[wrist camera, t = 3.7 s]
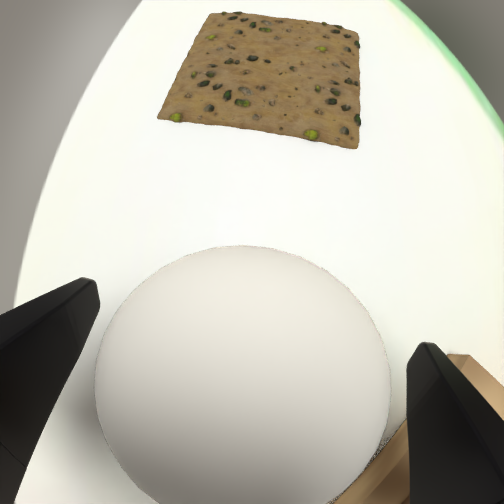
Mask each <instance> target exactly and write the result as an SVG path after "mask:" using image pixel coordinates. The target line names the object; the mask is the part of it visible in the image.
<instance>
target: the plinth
mask: <svg viewBox="0 0 504 504" xmlns="http://www.w3.org/2000/svg"><path fill="white" fill-rule="evenodd" d="M447 357H448V358H449V359H450V360H451V361H452V362H453V363H454V364H455V366H456V367H457V368H458V369H459V370H460V371H461V372H462V373H463V374H464V375H465V377H466V378H467V379H468V380H469V381H470V382H471V383H472V384H473V385H474V387H475V388H476V389H477V390H478V391H479V392H480V393H481V395H482V396H483V397H484V398H485V399H486V400H487V401H488V403H489V404H490V405H491V406H492V407H493V408H494V410H495V411H496V412H497V413H498V414H499V415H500V417H501V418H502V419H503V420H504V387H503V386H502V385H501V384H500V383H499V382H498V381H497V380H496V379H495V378H494V377H493V376H492V375H491V374H490V373H489V372H488V371H486V370H485V369H484V368H483V367H482V366H481V365H480V364H479V363H478V362H477V361H476V360H475V359H473V358H472V357H471V356H470V355H460V354H448V355H447ZM333 504H410V479H409V448H408V432H407V418H406V420H405V421H404V422H403V424H402V425H401V426H400V428H399V429H398V430H397V432H396V433H395V434H394V436H393V437H392V438H391V440H390V441H389V442H388V443H387V445H386V446H385V447H384V448H383V449H382V451H381V452H380V453H379V454H378V456H377V457H376V458H375V459H374V460H373V461H372V463H371V464H370V465H369V466H368V467H367V468H366V469H365V471H364V472H363V473H362V474H361V475H360V476H359V477H358V478H357V479H356V480H355V482H354V483H353V484H352V485H351V486H350V487H349V488H348V489H347V490H346V491H345V492H344V493H343V494H342V495H341V496H340V497H339V498H338V499H337V500H336V501H335V502H334V503H333Z"/></svg>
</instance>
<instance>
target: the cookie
mask: <svg viewBox="0 0 504 504" xmlns="http://www.w3.org/2000/svg"><path fill="white" fill-rule="evenodd" d="M359 48H360V44H359V36H358V33H356V32H354V31H351V30H347V29H344V28H343V27H342V26H339V25H329V24H327V23H326V22H322V23H319V22H313V21H306V20H297V19H289V18H276V17H269V16H264V15H257V14H246V13H242V12H233V13H227V12H222V13H212V14H210V15H209V16H208V18H207V19H206V21H205V23H204V24H203V26H202V28H201V30H200V31H199V34H198V35H197V36H196V37H195V40H194V43H193V45H192V47H191V49H190V50H189V52H188V55H187V57H186V58H185V60H184V62H183V63H182V66H181V68H180V70H179V71H178V73H177V76H176V79H175V81H174V83H173V84H172V87H171V89H170V90H169V92H168V95H167V97H166V99H165V102H164V104H163V106H162V109H161V111H160V112H159V114H158V116H157V118H158V119H162V120H171V121H174V122H191V123H199V124H205V125H222V126H230V127H236V128H240V129H251V130H258V131H264V132H267V133H275V134H278V135H286V136H293V137H299V138H303V139H307V140H310V141H319V142H324V143H327V144H330V145H336V146H340V147H343V148H349V149H357V148H358V143H359V127H360V125H361V119H360V117H359V116H360V100H359V96H360V80H359V77H360V70H359Z"/></svg>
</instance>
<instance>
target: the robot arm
mask: <svg viewBox="0 0 504 504" xmlns="http://www.w3.org/2000/svg"><path fill="white" fill-rule="evenodd" d="M99 309H100V299H99V294H98V289H97V284H96V282H95V281H94V280H92V279H89V278H85V277H81V278H79V279H77V280H74V281H72V282H70V283H68V284H66V285H63V286H61V287H59V288H57V289H55V290H52V291H50V292H48V293H46V294H44V295H41V296H39V297H37V298H35V299H33V300H31V301H29V302H27V303H24V304H22V305H20V306H18V307H16V308H14V309H12V310H10V311H8V312H6V313H4V314H1V315H0V504H14V501H15V498H16V495H17V493H18V490H19V487H20V485H21V482H22V479H23V477H24V474H25V472H26V469H27V466H28V464H29V461H30V459H31V457H32V454H33V452H34V449H35V447H36V445H37V442H38V440H39V438H40V436H41V433H42V431H43V429H44V427H45V425H46V422H47V420H48V418H49V416H50V414H51V412H52V410H53V408H54V405H55V403H56V401H57V399H58V397H59V395H60V393H61V391H62V389H63V387H64V385H65V383H66V381H67V379H68V377H69V375H70V373H71V372H72V370H73V368H74V366H75V364H76V362H77V360H78V358H79V356H80V354H81V352H82V350H83V348H84V345H85V343H86V340H87V338H88V336H89V333H90V331H91V328H92V326H93V324H94V321H95V319H96V317H97V315H98V312H99ZM406 373H407V406H406V416H407V432H408V448H409V479H410V504H504V420H503V419H502V418H501V417H500V415H499V414H498V413H497V412H496V411H495V410H494V408H493V407H492V406H491V405H490V404H489V403H488V401H487V400H486V399H485V398H484V397H483V396H482V395H481V393H480V392H479V391H478V390H477V389H476V388H475V387H474V385H473V384H472V383H471V382H470V381H469V380H468V379H467V378H466V377H465V375H464V374H463V373H462V372H461V371H460V370H459V369H458V368H457V367H456V366H455V364H454V363H453V362H452V361H451V360H450V359H449V358H448V357H447V356H446V355H445V354H444V353H443V352H442V350H441V349H440V348H439V347H438V346H437V345H436V344H434V343H429V342H422V343H420V344H419V345H418V347H417V349H416V350H415V352H414V353H413V355H412V357H411V358H410V360H409V361H408V364H407V370H406Z"/></svg>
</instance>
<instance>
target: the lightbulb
mask: <svg viewBox="0 0 504 504" xmlns="http://www.w3.org/2000/svg"><path fill="white" fill-rule="evenodd" d="M94 393H95V402H96V409H97V416H98V419H99V422H100V425H101V428H102V431H103V434H104V436H105V439H106V442H107V443H108V445H109V447H110V449H111V451H112V452H113V454H114V456H115V458H116V459H117V461H118V463H119V464H120V466H121V468H122V469H123V470H124V471H125V472H126V474H127V475H128V476H129V477H130V478H131V479H132V480H133V482H134V483H135V484H136V485H137V486H138V487H139V488H140V489H141V490H142V491H144V492H145V493H146V494H147V495H149V496H150V497H151V498H153V499H154V500H155V501H156V502H158V503H159V504H327V503H328V502H329V501H331V500H332V499H334V498H335V497H337V496H338V495H339V494H341V493H342V492H343V491H344V490H345V489H346V488H347V487H348V486H349V485H350V484H351V483H352V482H353V481H354V480H355V479H356V478H357V477H358V476H359V475H360V474H361V473H362V472H363V470H364V469H365V467H366V466H367V464H368V462H369V461H370V459H371V458H372V456H373V455H374V453H375V451H376V450H377V448H378V445H379V443H380V440H381V438H382V435H383V433H384V430H385V427H386V424H387V420H388V414H389V408H390V402H391V378H390V367H389V363H388V359H387V355H386V352H385V348H384V344H383V341H382V338H381V336H380V334H379V332H378V330H377V328H376V326H375V324H374V322H373V320H372V319H371V317H370V315H369V313H368V311H367V310H366V309H365V307H364V306H363V305H362V304H361V302H360V301H359V300H358V299H357V298H356V296H355V295H354V294H353V293H352V291H351V290H350V289H349V288H348V287H346V286H345V285H344V284H343V283H342V282H340V281H339V280H338V279H337V278H335V277H334V276H333V275H332V274H331V273H329V272H328V271H327V270H325V269H323V268H321V267H319V266H317V265H315V264H314V263H312V262H310V261H308V260H306V259H304V258H302V257H300V256H297V255H293V254H290V253H287V252H284V251H280V250H277V249H274V248H266V247H256V246H247V245H239V246H227V247H215V248H211V249H207V250H204V251H200V252H197V253H193V254H190V255H186V256H184V257H182V258H180V259H178V260H176V261H174V262H172V263H170V264H168V265H166V266H165V267H163V268H161V269H159V270H158V271H157V272H155V273H154V274H153V275H152V276H150V277H149V278H148V279H147V280H145V281H144V282H143V283H142V284H140V285H139V286H138V287H137V288H136V289H135V290H134V291H133V292H132V293H131V294H130V296H129V297H128V298H127V299H126V300H125V302H124V303H123V304H122V305H121V306H120V308H119V309H118V310H117V311H116V313H115V315H114V317H113V319H112V321H111V322H110V324H109V326H108V328H107V330H106V332H105V334H104V336H103V339H102V343H101V346H100V349H99V353H98V356H97V360H96V368H95V380H94Z"/></svg>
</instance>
